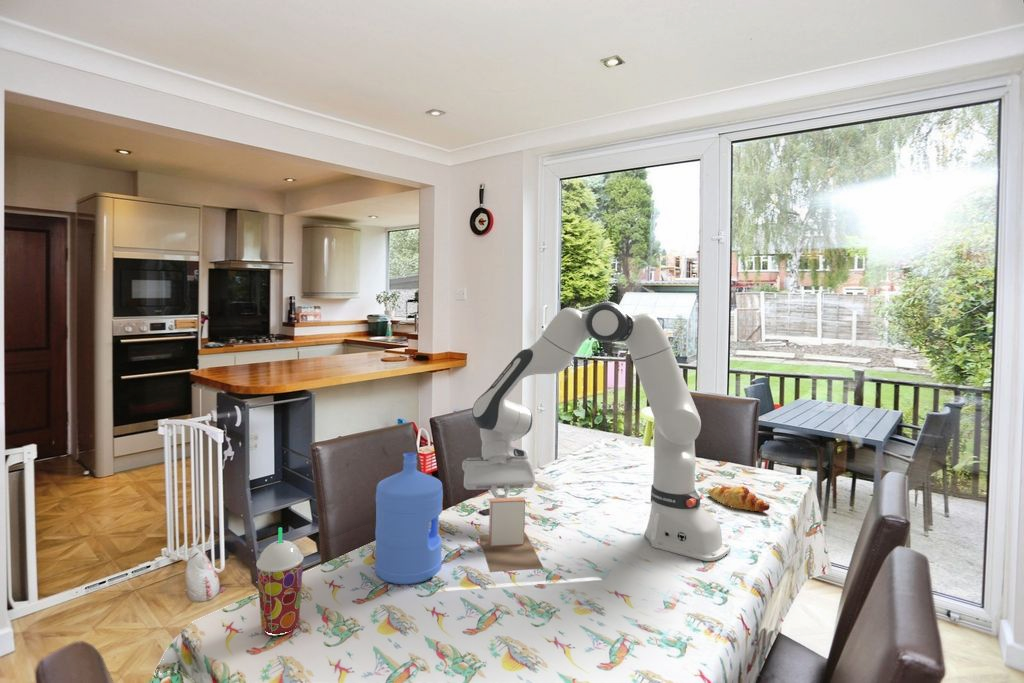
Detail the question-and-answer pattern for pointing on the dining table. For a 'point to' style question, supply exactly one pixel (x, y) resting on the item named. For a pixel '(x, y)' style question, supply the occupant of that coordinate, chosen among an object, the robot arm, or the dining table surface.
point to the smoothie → (280, 585)
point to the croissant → (738, 498)
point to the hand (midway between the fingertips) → (501, 502)
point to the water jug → (408, 525)
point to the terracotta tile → (506, 521)
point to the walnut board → (510, 556)
